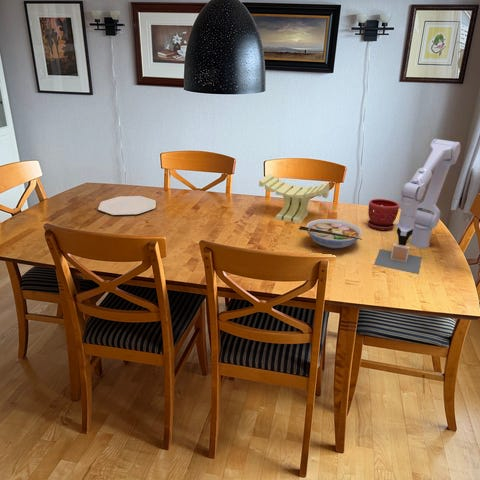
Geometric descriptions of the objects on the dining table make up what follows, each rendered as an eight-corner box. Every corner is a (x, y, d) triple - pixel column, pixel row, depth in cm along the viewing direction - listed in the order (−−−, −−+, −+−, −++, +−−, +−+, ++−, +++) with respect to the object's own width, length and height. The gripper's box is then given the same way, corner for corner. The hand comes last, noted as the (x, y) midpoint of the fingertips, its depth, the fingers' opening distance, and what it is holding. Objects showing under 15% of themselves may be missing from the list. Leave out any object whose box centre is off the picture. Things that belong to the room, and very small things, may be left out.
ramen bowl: (366, 240, 182) (369, 223, 179) (356, 262, 163) (360, 242, 160) (309, 230, 192) (311, 213, 188) (294, 249, 172) (296, 230, 169)
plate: (130, 195, 231) (130, 192, 230) (167, 206, 216) (167, 203, 216) (87, 208, 210) (87, 205, 210) (124, 221, 196) (124, 218, 195)
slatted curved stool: (325, 215, 209) (330, 180, 202) (317, 226, 196) (322, 189, 189) (268, 206, 220) (270, 172, 213) (257, 215, 207) (259, 180, 200)
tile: (390, 257, 166) (393, 243, 164) (406, 260, 164) (409, 246, 161) (390, 258, 165) (392, 244, 162) (406, 262, 162) (409, 248, 160)
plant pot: (400, 229, 196) (405, 204, 191) (380, 233, 190) (385, 208, 185) (379, 219, 207) (383, 196, 202) (359, 224, 200) (363, 200, 195)
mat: (379, 250, 173) (380, 248, 173) (421, 259, 167) (421, 257, 167) (373, 266, 160) (373, 264, 160) (418, 276, 154) (418, 274, 154)
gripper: (399, 206, 169) (393, 238, 174) (394, 218, 156) (388, 251, 162) (418, 209, 166) (411, 241, 171) (415, 221, 154) (408, 255, 159)
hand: (401, 246), depth 166 cm, fingers closed
